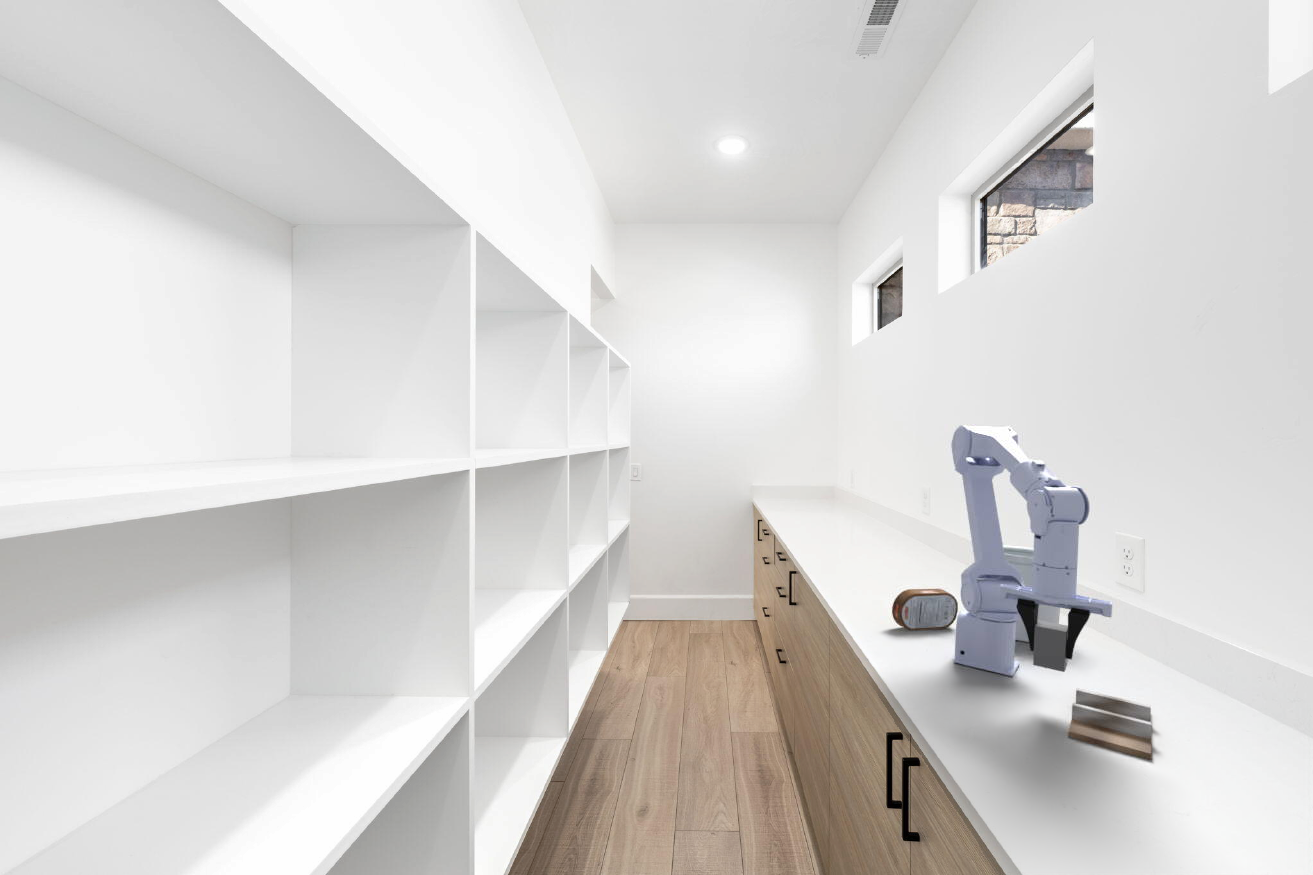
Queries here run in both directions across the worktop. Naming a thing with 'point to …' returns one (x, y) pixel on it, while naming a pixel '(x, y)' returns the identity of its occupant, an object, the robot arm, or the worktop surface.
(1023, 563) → the utensil holder
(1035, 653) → the grey rectangular block
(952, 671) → the worktop surface
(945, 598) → the tin
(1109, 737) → the end holder
